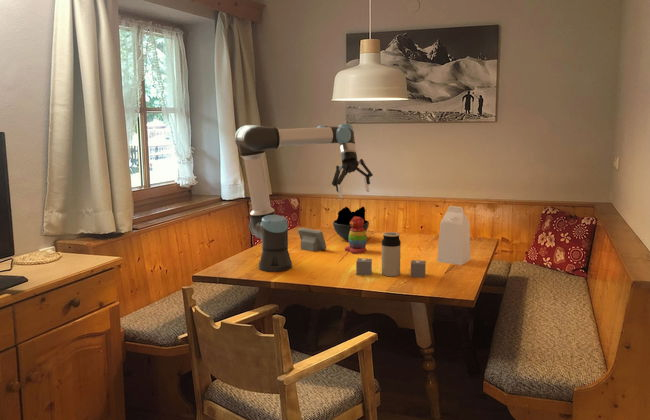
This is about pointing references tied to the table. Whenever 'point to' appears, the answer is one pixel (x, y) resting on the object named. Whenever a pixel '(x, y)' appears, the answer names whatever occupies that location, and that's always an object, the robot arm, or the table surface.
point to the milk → (454, 237)
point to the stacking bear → (357, 236)
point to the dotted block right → (418, 268)
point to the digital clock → (311, 239)
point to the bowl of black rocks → (348, 221)
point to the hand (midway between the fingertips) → (354, 194)
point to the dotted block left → (363, 266)
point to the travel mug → (391, 254)
